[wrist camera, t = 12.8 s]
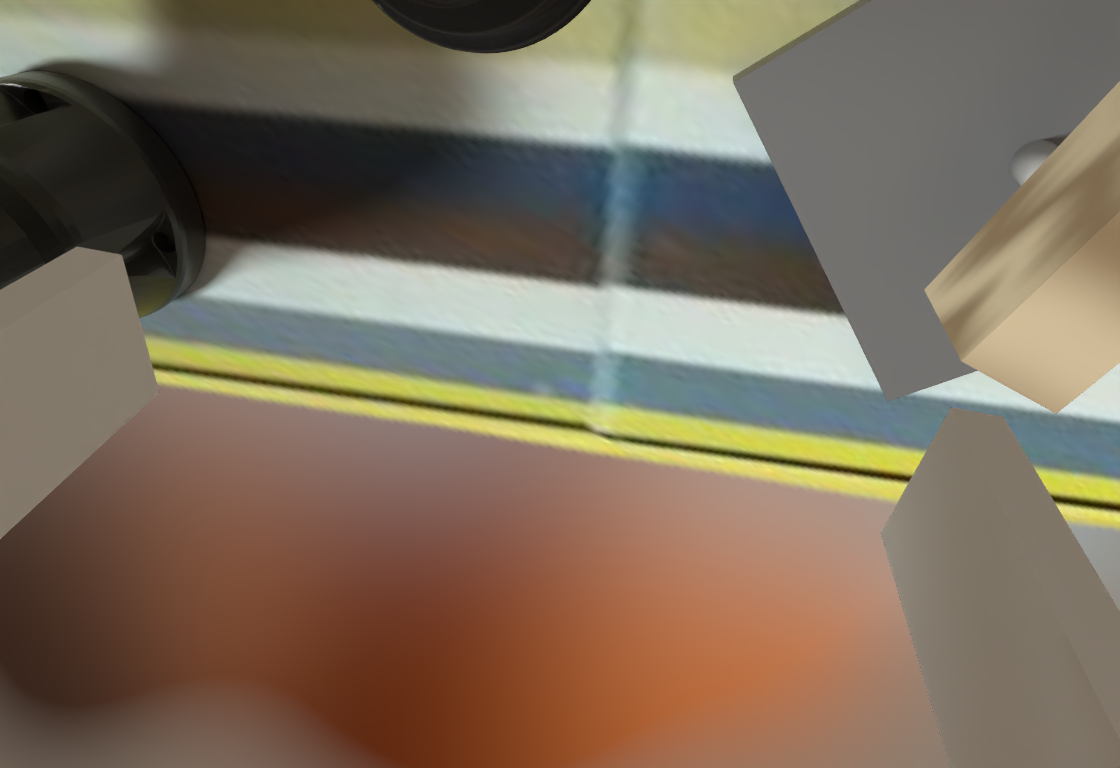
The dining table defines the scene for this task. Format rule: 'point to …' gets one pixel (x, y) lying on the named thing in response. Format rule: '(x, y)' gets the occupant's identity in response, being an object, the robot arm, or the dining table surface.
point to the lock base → (921, 145)
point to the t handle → (1045, 273)
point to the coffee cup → (482, 21)
